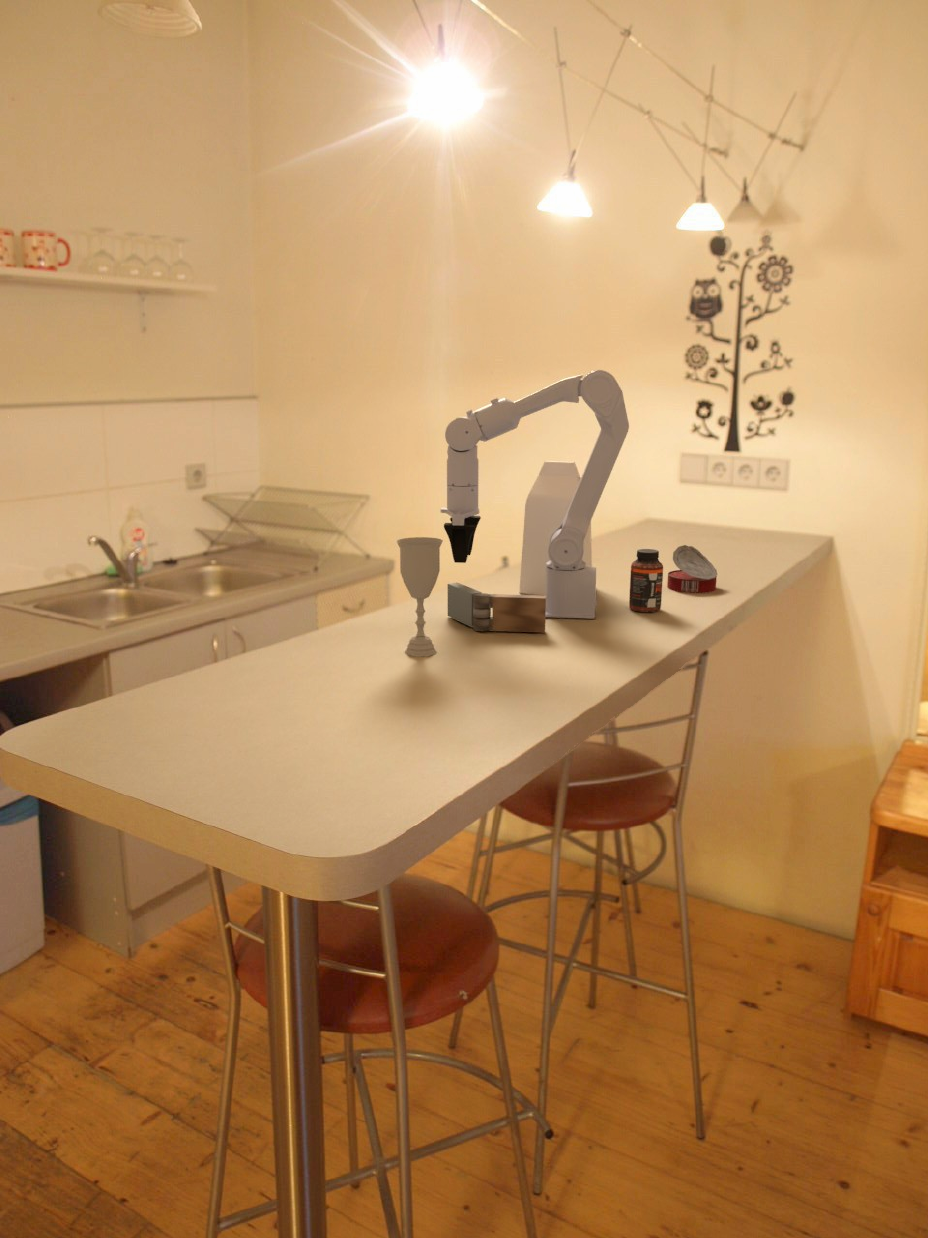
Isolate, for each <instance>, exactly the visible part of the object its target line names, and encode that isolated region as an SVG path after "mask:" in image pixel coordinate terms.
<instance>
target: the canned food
mask: <svg viewBox="0 0 928 1238" xmlns="http://www.w3.org/2000/svg"><path fill="white" fill-rule="evenodd" d="M672 561H673V563H674V565H675V566H676V567H677V568H678V570H671V571H668V573H667V581H666V583H667V585H666V587H667V589H668V590H671V591H673V592H677V593H683V594H709V593H713V592H715V591H717V590H716V589H717V576H718V571H717V569H716V567H715V566H714V565H713V563H712V562H711V561H709V559H708V558H707V557H706V556H705V555H703V554H702V553H701V552H700V551H699V549H697V548H696V547H694V546H692V545H686V544H685V545H684V544H683V545H680V546H677V548H675V550H674V551H673V553H672Z"/></svg>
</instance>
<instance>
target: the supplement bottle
mask: <svg viewBox="0 0 928 1238" xmlns="http://www.w3.org/2000/svg"><path fill="white" fill-rule="evenodd" d="M659 552H660V551H659V550H657V549H655V548H653V549H651V548H641V549H637V551H636V559H635V560H634V561H632V563H631V566H630V578H629V579H630V581H629V596H628V597H629V600H628V601H629V602H628V604H629V609H630V610H632V611H634V612H639V613H656V612H658V611H660V610H661V608H662V602H663V601H662V597H663V579H664V578H663V577H664V565H663V562H660V559H659V557H660V553H659Z"/></svg>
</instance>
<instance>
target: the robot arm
mask: <svg viewBox="0 0 928 1238" xmlns="http://www.w3.org/2000/svg"><path fill="white" fill-rule="evenodd" d="M579 397H581V398H582V400H583V402H584V403H585V404H586V405H587V406H588V407H589V409H591V410H592V412H593V413H594V415H595V418H596V420H597V422H598V424H599V427H600V430H599V433H598V436H597V438H596V441H595V443H594V446H593V448H592V450H591V453H590V455H589V458H588V461H587V463H586V466H585V468H584V470H583V473H582V475H581V476H580V477H581V480H580V482H579V484H578V487H577V489H576V492H575V494H574V497H573V499H572V502H571V504H570V506H569V509H568V511H567V513H566V515H565V517H564V520H563V522H562V524H561V526H560V527H559V528H558V529H556V530H555V531H554V532H553V534H552V535H551V538H550V545H549V548H548V554H549V558H550V561H548V562H547V563H546V591H545V595H544V596H546V618H562V619H566V618H567V619H591V620H592V619H593V620H594V619H595V617H596V614H595V613H596V608H597V607H598V596H597V597H596V590H597V588H596V586H597V568H596V567H593V566H592V567H586V564H585V562H584V561H583V560H582V557H583V554H584V548H583V546H584V539H585V536H586V534H587V531H588V527H589V524H590V521H591V522H592V518H593V517H594V514H595V511H596V509H597V506H598V505H599V502H600V499H601V497H602V494H603V492H604V490H605V487H606V485H607V483H608V481H609V478H610V476H611V474H612V471H613V469H614V466H615V464H616V461H617V458H618V457H619V454H620V451H621V449H622V447H623V445H624V442H625V439H626V437H627V435H628V432H629V429H630V424H629V418H628V413H627V408H626V404H625V399H624V394H623V390H622V388H621V386H620V385H619V383H618V381H617V380H616V378H615V376H613V375H612V373H610V372H608V371H606V370H604V369H595V370H591V371H590V372H588V373H587V374H586V375H585V376H584V374H578V375H574V376H571V377H567V378H563V379H561V380H558V381H556V382H555V383H552V384H550V385H548V386H546V387H544V388H542V389H540V390H537V391H535V392H534V393H530V394H529V395H526V396H524V397H522V398H520V399H518V400H516V401H514V400H511V399H508V398H507V397H506V398H505V397H503V398H501V399H499V398H498V397H494V398H493V399H491V400H490V404H487V405H485V406H483V407H480V408H478V409H476V410H472V409H470V410H467V411H466V412H465V413H466V416H459V417H456V418H455V419H453V420H451V421H450V422H449V423H448V425H447V426H446V428H445V431H444V432H445V433H444V437H445V441H446V443H447V445H448V446H447V451H446V453H447V458H446V507H441V508H440V513H441V514H447V515H448V516H450V518H449V520H450V522H444V524H443V529H444V531H445V533H446V534H447V537H448V540H449V543H450V548H451V555H452V558H453V561H454V563H458V564H461V563H462V564H464V563H466V562H467V560H468V557H469V556H471V553H472V550H473V545H474V537H475V534H476V530H477V528H478V525H479V523H480V521H481V518H482V517H481V516H480V508H479V458H478V445H477V444H478V443H479V442H480V441H481V442H483V443H484V442H485V443H486V442H488V441H491V440H492V439H495V438H497V437H500V436H502V435H504V434H506V433H508V432H511V431H513V430H515V429H517V428H518V426H519V424H520V421H521V419H522V418H524V417H526V416H530V415H531V414H535V413H537V412H539V411H542V410H544V409H548V408H549V407H551V406H555V405H557V404H560V403H562V402H563V403H564V402H566V403H575V404H579V401H580V398H579Z"/></svg>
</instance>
